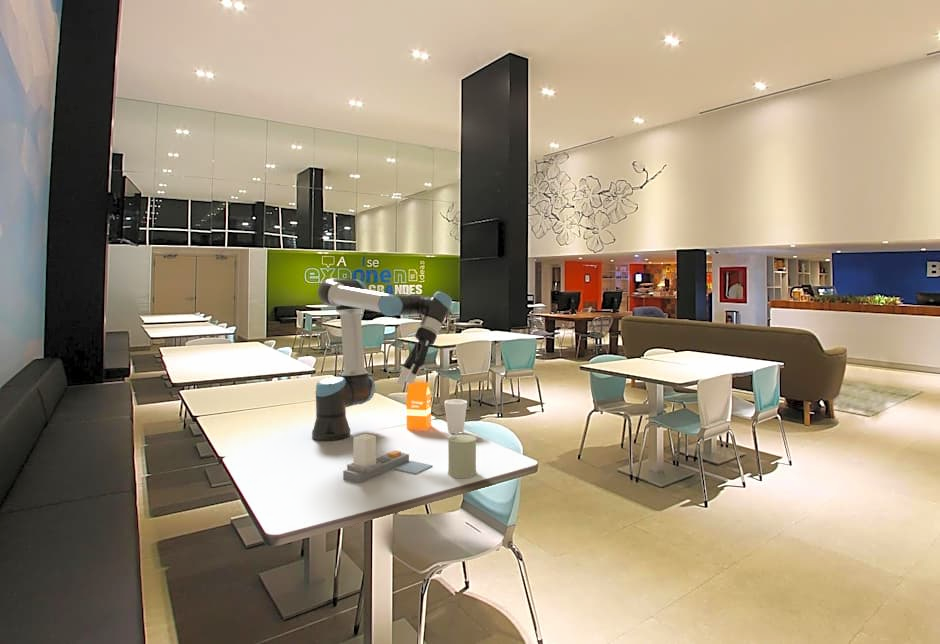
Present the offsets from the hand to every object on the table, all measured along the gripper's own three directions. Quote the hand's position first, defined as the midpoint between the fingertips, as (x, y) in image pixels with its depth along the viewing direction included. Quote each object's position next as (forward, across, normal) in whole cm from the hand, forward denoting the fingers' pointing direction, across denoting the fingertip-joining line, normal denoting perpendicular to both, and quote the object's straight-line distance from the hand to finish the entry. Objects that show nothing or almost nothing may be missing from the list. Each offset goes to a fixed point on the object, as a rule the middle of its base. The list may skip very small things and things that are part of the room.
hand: (404, 383), depth 181 cm
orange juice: (+9, +40, -22) cm, 47 cm away
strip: (+30, -6, -3) cm, 31 cm away
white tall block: (+31, -10, +2) cm, 33 cm away
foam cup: (+5, +27, -34) cm, 44 cm away
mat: (+25, -8, -13) cm, 30 cm away
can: (+21, -19, -26) cm, 38 cm away
